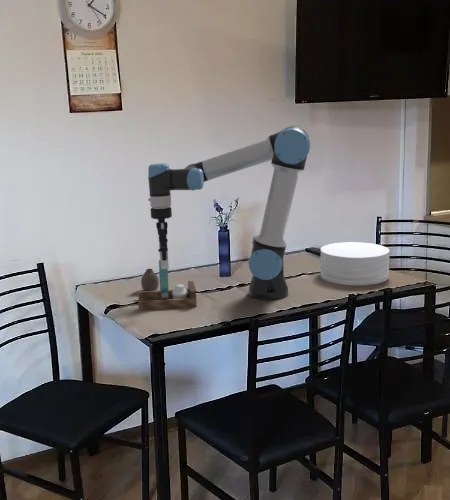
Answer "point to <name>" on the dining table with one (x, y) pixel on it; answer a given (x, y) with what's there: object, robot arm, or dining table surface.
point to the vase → (149, 281)
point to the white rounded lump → (179, 292)
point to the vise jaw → (163, 282)
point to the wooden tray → (169, 302)
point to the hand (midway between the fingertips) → (164, 264)
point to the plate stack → (354, 263)
